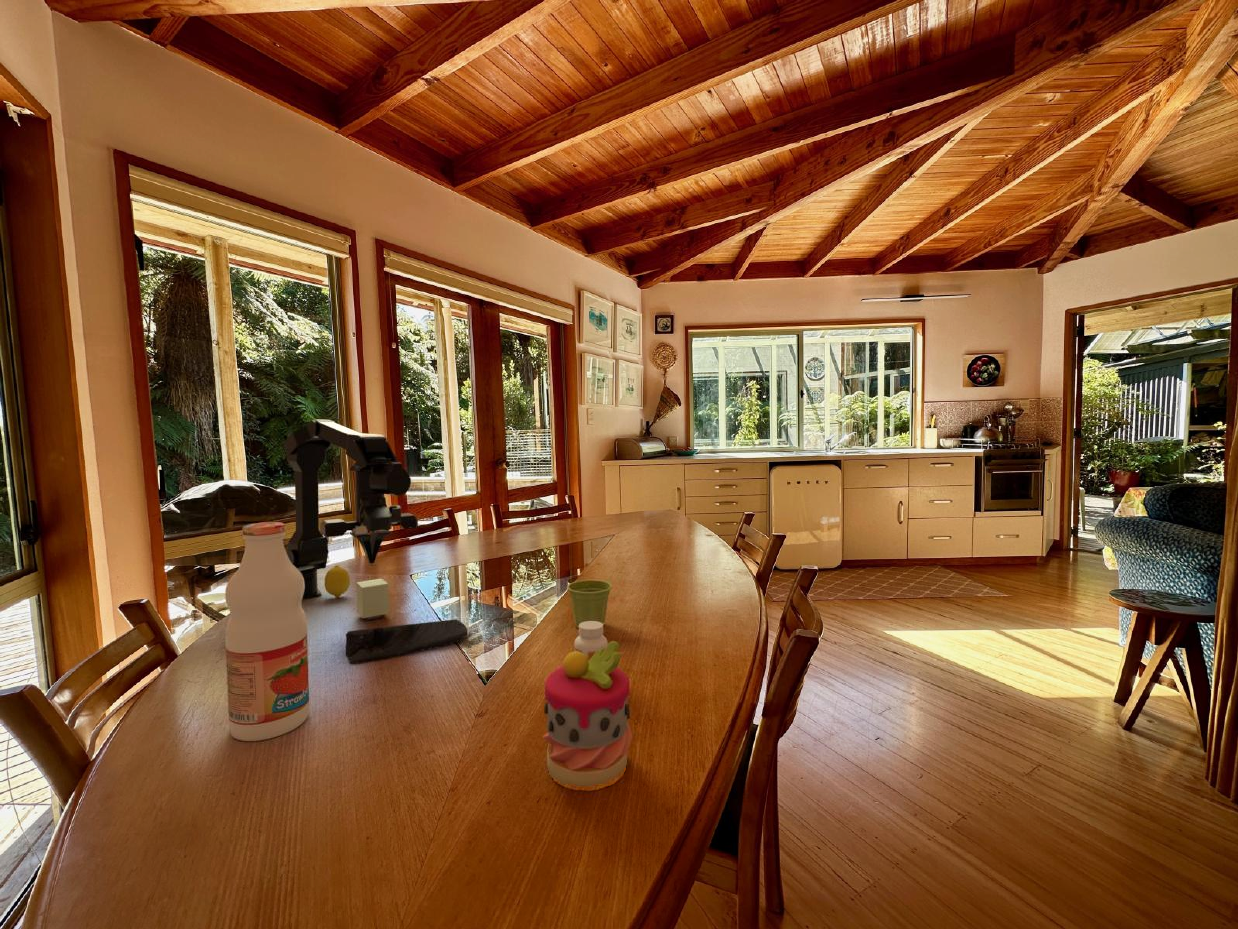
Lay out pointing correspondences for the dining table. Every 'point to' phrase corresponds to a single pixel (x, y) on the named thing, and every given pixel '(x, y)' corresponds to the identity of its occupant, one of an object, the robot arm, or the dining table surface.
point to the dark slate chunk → (402, 639)
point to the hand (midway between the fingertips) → (371, 563)
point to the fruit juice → (266, 639)
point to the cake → (587, 718)
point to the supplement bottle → (590, 638)
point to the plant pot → (589, 600)
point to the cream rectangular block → (372, 598)
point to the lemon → (337, 581)
